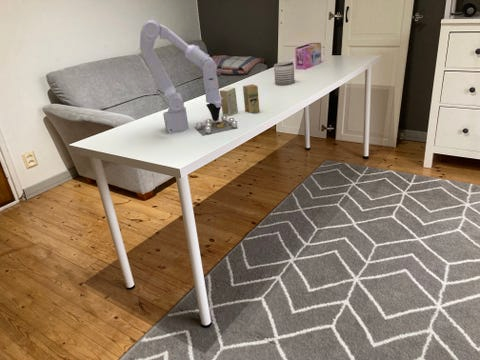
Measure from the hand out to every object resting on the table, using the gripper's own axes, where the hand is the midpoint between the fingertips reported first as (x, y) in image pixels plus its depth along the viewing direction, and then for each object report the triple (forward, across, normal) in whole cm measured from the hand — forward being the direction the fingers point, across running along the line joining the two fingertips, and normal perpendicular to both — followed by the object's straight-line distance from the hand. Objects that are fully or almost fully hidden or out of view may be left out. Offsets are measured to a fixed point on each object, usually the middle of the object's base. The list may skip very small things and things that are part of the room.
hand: (215, 120), depth 166 cm
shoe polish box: (+2, +8, -20) cm, 22 cm away
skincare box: (+2, +10, -10) cm, 14 cm away
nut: (+1, -6, 0) cm, 6 cm away
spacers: (+1, -6, +2) cm, 6 cm away
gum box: (+3, +87, -95) cm, 129 cm away
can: (+3, +50, -58) cm, 77 cm away
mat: (+2, -6, +2) cm, 6 cm away
